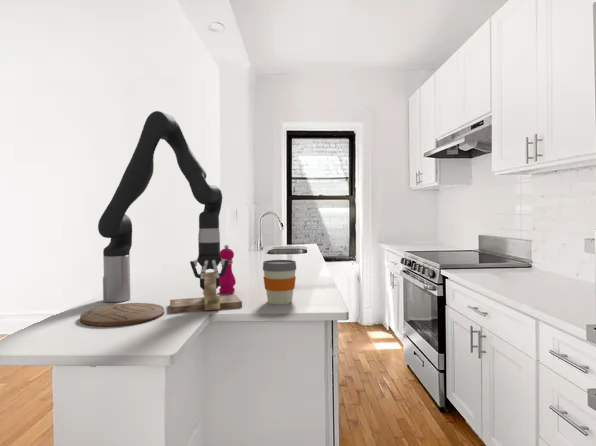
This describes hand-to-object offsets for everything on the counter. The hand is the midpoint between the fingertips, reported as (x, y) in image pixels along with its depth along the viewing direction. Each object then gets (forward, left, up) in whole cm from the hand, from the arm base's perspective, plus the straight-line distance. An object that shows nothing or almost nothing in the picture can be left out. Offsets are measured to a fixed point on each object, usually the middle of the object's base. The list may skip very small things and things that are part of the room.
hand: (209, 288), depth 147 cm
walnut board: (-1, 0, -6) cm, 6 cm away
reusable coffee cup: (+26, -2, -6) cm, 26 cm away
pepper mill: (+10, +22, -6) cm, 25 cm away
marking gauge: (0, -2, -6) cm, 6 cm away
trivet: (-28, -5, -7) cm, 29 cm away
